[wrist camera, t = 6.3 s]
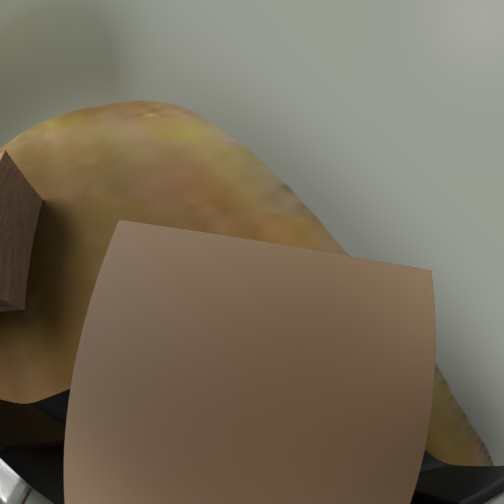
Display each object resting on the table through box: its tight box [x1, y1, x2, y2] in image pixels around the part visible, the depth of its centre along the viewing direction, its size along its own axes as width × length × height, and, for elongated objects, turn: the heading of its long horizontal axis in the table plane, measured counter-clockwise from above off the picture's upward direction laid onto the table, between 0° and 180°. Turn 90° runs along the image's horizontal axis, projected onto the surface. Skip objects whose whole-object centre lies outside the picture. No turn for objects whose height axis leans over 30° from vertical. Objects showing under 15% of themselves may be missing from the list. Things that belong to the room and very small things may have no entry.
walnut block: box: [64, 220, 436, 504], centre depth 8 cm, size 4×4×13 cm
